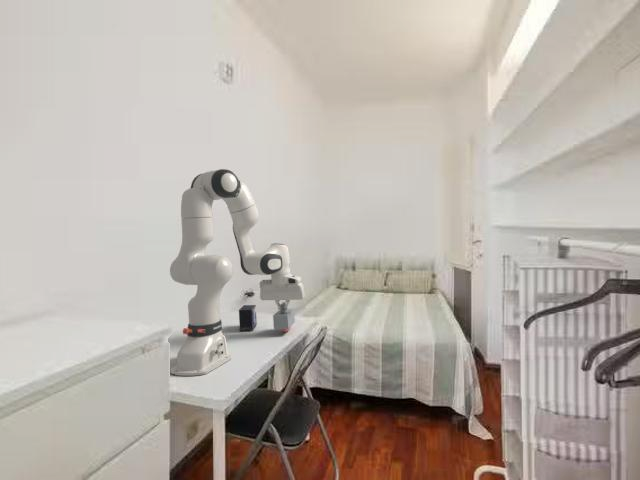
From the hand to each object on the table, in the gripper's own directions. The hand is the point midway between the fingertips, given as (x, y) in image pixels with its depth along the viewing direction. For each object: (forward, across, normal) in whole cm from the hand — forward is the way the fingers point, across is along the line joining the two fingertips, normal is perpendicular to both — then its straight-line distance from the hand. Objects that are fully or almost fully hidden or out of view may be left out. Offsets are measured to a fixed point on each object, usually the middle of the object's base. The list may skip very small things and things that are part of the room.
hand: (283, 309), depth 165 cm
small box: (+11, -20, +7) cm, 24 cm away
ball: (+8, 0, +2) cm, 8 cm away
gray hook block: (+8, 0, +1) cm, 8 cm away
